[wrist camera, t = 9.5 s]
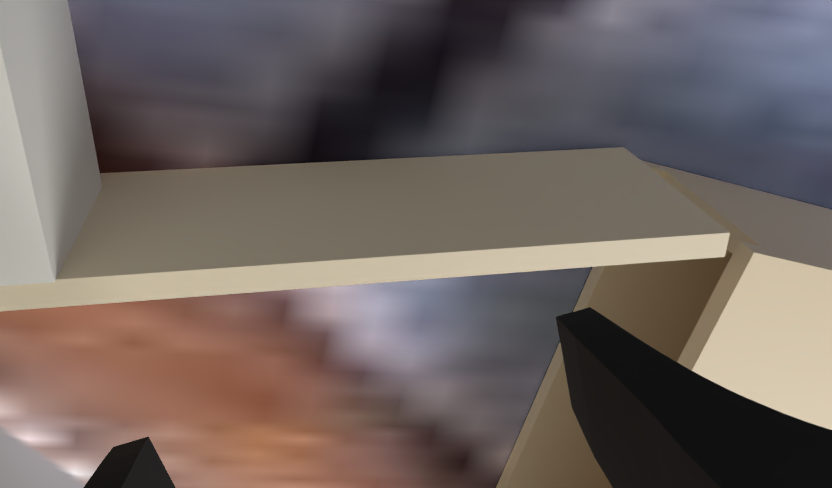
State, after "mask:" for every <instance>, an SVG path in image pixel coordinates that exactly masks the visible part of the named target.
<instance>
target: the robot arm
mask: <svg viewBox="0 0 832 488" xmlns="http://www.w3.org/2000/svg"><path fill="white" fill-rule="evenodd" d="M556 320H557V325H558V331H559V337H560V343H561V348H562V354H563V360H564V366H565V372H566V377H567V383H568V389H569V395H570V401H571V406H572V409H573V411H574V414H575V416H576V418H577V420H578V423H579V425H580V427H581V429H582V432H583V434H584V436H585V438H586V440H587V442H588V445H589V447H590V449H591V451H592V453H593V455H594V457H595V459H596V461H597V462H598V464H599V466H600V467H601V469H602V471H603V472H604V474H605V476H606V477H607V479H608V481H609V482H610V484H611V485H612V487H613V488H832V430H830V429H827V428H824V427H821V426H818V425H815V424H812V423H809V422H806V421H803V420H800V419H797V418H795V417H792V416H789V415H787V414H784V413H781V412H779V411H777V410H774V409H772V408H769V407H767V406H765V405H762V404H760V403H757V402H755V401H753V400H750V399H748V398H745V397H743V396H741V395H739V394H737V393H735V392H732V391H730V390H728V389H726V388H724V387H722V386H720V385H718V384H716V383H714V382H712V381H710V380H708V379H706V378H704V377H702V376H701V375H699V374H697V373H695V372H693V371H692V370H690V369H688V368H686V367H684V366H683V365H681V364H679V363H678V362H676V361H674V360H673V359H671V358H669V357H667V356H666V355H664V354H662V353H661V352H659V351H657V350H656V349H654V348H652V347H651V346H649V345H648V344H646V343H644V342H643V341H641V340H640V339H638V338H637V337H635V336H634V335H632V334H630V333H629V332H627V331H626V330H624V329H623V328H621V327H620V326H618V325H617V324H615V323H614V322H612V321H611V320H609V319H608V318H606V317H605V316H603V315H602V314H600V313H599V312H597V311H596V310H594V309H592V308H590V307H589V308H585V309H582V310H578V311H575V312H572V313H568V314H565V315H561V316H558V317H556ZM84 488H175V486H174V484H173V482H172V480H171V478H170V477H169V475H168V473H167V471H166V469H165V467H164V465H163V463H162V461H161V460H160V458H159V456H158V454H157V452H156V450H155V448H154V446H153V444H152V442H151V441H150V439H149V437H146V438H142V439H139V440H136V441H132V442H129V443H125V444H122V445H119V446H115V447H113V448H112V449H111V451H110V452H109V453H108V455H107V456H106V457H105V458H104V460H103V461H102V463H101V464H100V465H99V467H98V468H97V470H96V471H95V472H94V474H93V475H92V477H91V478H90V479H89V481H88V482H87V484H86V485H85V487H84Z"/></svg>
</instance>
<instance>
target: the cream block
mask: <svg viewBox="0 0 832 488" xmlns="http://www.w3.org/2000/svg"><path fill="white" fill-rule="evenodd" d="M729 235H730V232H729V231H727V230H726V229H725V228H724V227H722V226H721V225H720V224H719V223H718V222H716V221H715V220H714V219H713V218H711V217H710V216H709V215H708V214H706V213H705V212H704V211H703V210H701V209H700V208H699V207H698V206H697V205H695V204H694V203H693V202H692V201H690V200H689V199H688V198H687V197H685V196H684V195H683V194H682V193H680V192H679V191H678V190H677V189H676V188H674V187H673V186H672V185H671V184H669V183H668V182H667V181H666V180H664V179H663V178H662V177H661V176H659V175H658V174H657V173H656V172H655V171H653V170H652V169H651V168H650V167H648V166H647V165H646V164H645V163H643V162H642V161H641V160H640V159H638V158H637V157H636V156H635V155H634V154H632V153H631V152H630V151H629V150H627V149H626V148H625V147H616V148H596V149H576V150H556V151H536V152H516V153H496V154H476V155H456V156H436V157H416V158H396V159H376V160H356V161H336V162H316V163H296V164H276V165H256V166H236V167H216V168H196V169H175V170H155V171H135V172H115V173H100V172H99V167H98V161H97V156H96V150H95V145H94V140H93V134H92V129H91V123H90V118H89V113H88V107H87V102H86V96H85V91H84V86H83V80H82V75H81V69H80V64H79V59H78V53H77V48H76V42H75V37H74V31H73V26H72V21H71V15H70V10H69V4H68V0H0V311H10V310H24V309H37V308H50V307H64V306H77V305H90V304H104V303H117V302H130V301H144V300H157V299H170V298H184V297H197V296H210V295H224V294H237V293H250V292H263V291H277V290H290V289H303V288H317V287H330V286H343V285H357V284H370V283H383V282H397V281H410V280H423V279H437V278H450V277H463V276H477V275H490V274H503V273H517V272H530V271H543V270H557V269H570V268H583V267H597V266H610V265H623V264H637V263H650V262H663V261H677V260H690V259H703V258H716V257H725V254H726V249H727V245H728V240H729Z"/></svg>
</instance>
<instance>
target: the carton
mask: <svg viewBox="0 0 832 488" xmlns="http://www.w3.org/2000/svg"><path fill="white" fill-rule="evenodd" d="M641 161H642V162H643V163H645V164H646V165H647V166H648V167H650V168H651V169H652V170H653V171H655V172H656V173H657V174H658V175H659V176H661V177H662V178H663V179H664V180H666V181H667V182H668V183H669V184H671V185H672V186H673V187H674V188H676V189H677V190H678V191H679V192H680V193H682V194H683V195H684V196H685V197H687V198H688V199H689V200H690V201H692V202H693V203H694V204H695V205H697V206H698V207H699V208H700V209H701V210H703V211H704V212H705V213H706V214H708V215H709V216H710V217H711V218H713V219H714V220H715V221H716V222H718V223H719V224H720V225H721V226H722V227H724V228H725V229H726V230H727V231H729V232H730V235H729V240H728V245H727V249H726V254H725V257H716V258H703V259H690V260H677V261H663V262H650V263H637V264H623V265H610V266H597V267H592V269H591V272H590V274H589V276H588V279H587V281H586V283H585V285H584V288H583V290H582V292H581V294H580V297H579V299H578V301H577V304H576V306H575V308H574V310H573V312H575V311H578V310H582V309H585V308H589V307H590V308H592V309H594V310H596V311H597V312H599V313H600V314H602V315H603V316H605V317H606V318H608V319H609V320H611V321H612V322H614V323H615V324H617V325H618V326H620V327H621V328H623V329H624V330H626V331H627V332H629V333H630V334H632V335H634V336H635V337H637V338H638V339H640V340H641V341H643V342H644V343H646V344H648V345H649V346H651V347H652V348H654V349H656V350H657V351H659V352H661V353H662V354H664V355H666V356H667V357H669V358H671V359H673V360H674V361H676V362H678V363H679V364H681V365H683V366H684V367H686V368H688V369H690V370H692V371H693V372H695V373H697V374H699V375H701V376H702V377H704V378H706V379H708V380H710V381H712V382H714V383H716V384H718V385H720V386H722V387H724V388H726V389H728V390H730V391H732V392H735V393H737V394H739V395H741V396H743V397H745V398H748V399H750V400H753V401H755V402H757V403H760V404H762V405H765V406H767V407H769V408H772V409H774V410H777V411H779V412H781V413H784V414H787V415H789V416H792V417H795V418H797V419H800V420H803V421H806V422H809V423H812V424H815V425H818V426H821V427H824V428H827V429H830V430H832V209H828V208H825V207H821V206H817V205H813V204H809V203H805V202H801V201H797V200H794V199H790V198H786V197H782V196H778V195H774V194H770V193H767V192H763V191H759V190H755V189H751V188H747V187H743V186H739V185H736V184H732V183H728V182H724V181H720V180H716V179H712V178H708V177H705V176H701V175H697V174H693V173H689V172H685V171H681V170H678V169H674V168H670V167H666V166H662V165H658V164H654V163H650V162H647V161H643V160H641ZM496 488H613V487H612V485H611V484H610V482H609V481H608V479H607V477H606V476H605V474H604V472H603V471H602V469H601V467H600V466H599V464H598V462H597V461H596V459H595V457H594V455H593V453H592V451H591V449H590V447H589V445H588V442H587V440H586V438H585V436H584V434H583V432H582V429H581V427H580V425H579V423H578V420H577V418H576V416H575V414H574V411H573V409H572V406H571V401H570V395H569V389H568V383H567V377H566V372H565V366H564V360H563V354H562V348H561V343H560V342H559V345H558V347H557V349H556V352H555V354H554V356H553V358H552V361H551V363H550V365H549V368H548V370H547V372H546V374H545V377H544V379H543V381H542V384H541V386H540V388H539V390H538V393H537V395H536V397H535V399H534V402H533V404H532V406H531V409H530V411H529V413H528V415H527V418H526V420H525V422H524V425H523V427H522V429H521V431H520V434H519V436H518V438H517V441H516V443H515V445H514V447H513V450H512V452H511V454H510V457H509V459H508V461H507V463H506V466H505V468H504V470H503V473H502V475H501V477H500V479H499V482H498V484H497V486H496Z"/></svg>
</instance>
